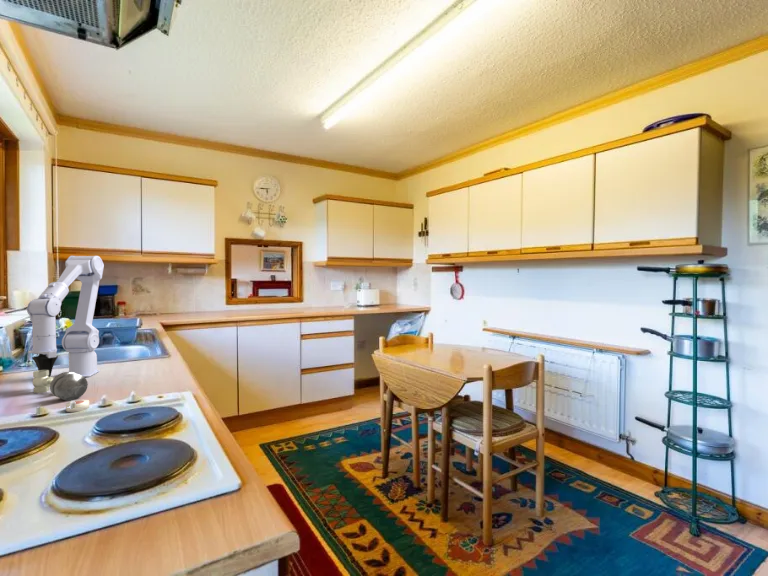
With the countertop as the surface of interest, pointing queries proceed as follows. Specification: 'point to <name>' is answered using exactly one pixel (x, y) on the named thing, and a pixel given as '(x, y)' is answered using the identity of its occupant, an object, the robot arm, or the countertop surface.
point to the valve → (41, 381)
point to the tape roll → (79, 402)
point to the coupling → (68, 386)
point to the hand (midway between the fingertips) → (45, 377)
